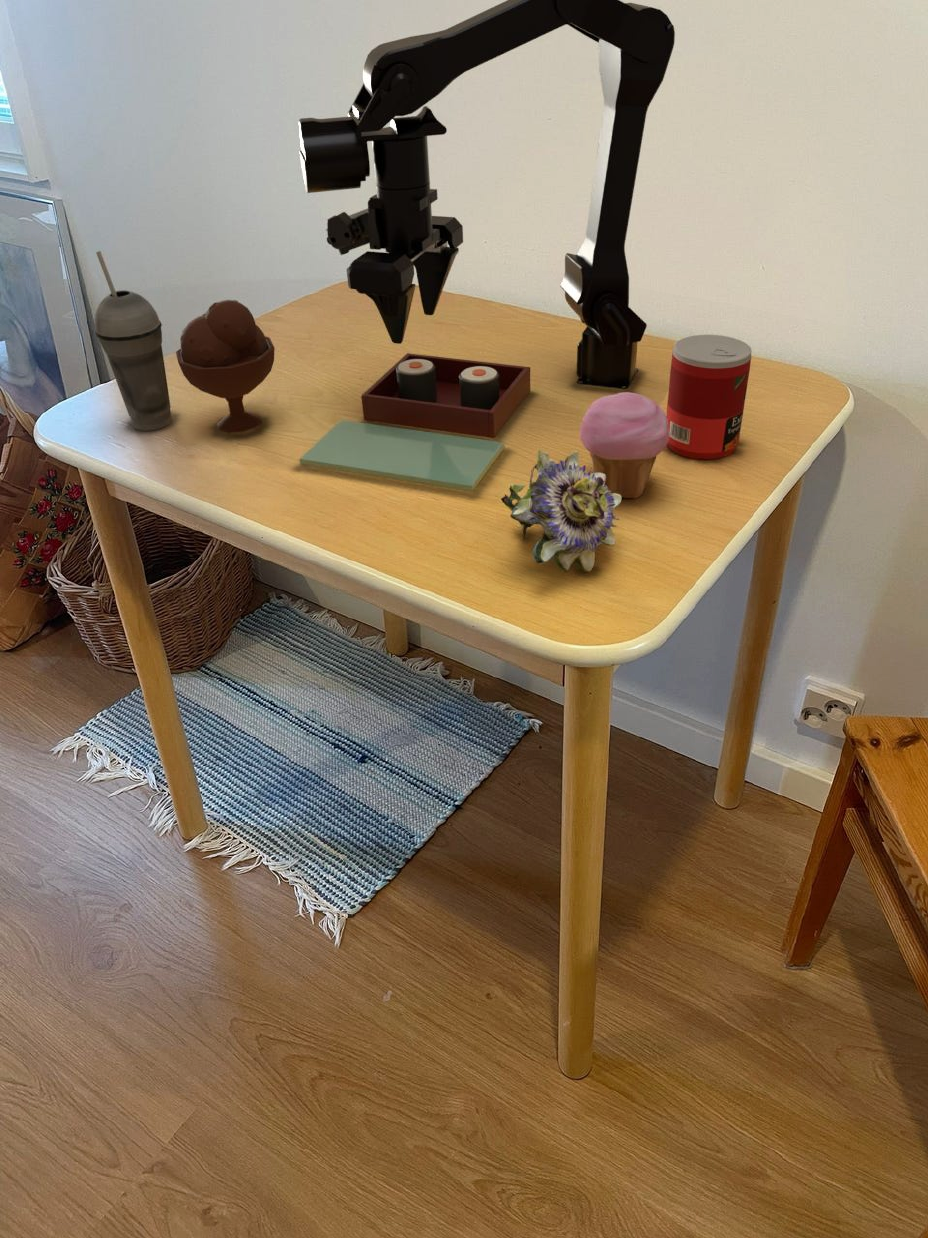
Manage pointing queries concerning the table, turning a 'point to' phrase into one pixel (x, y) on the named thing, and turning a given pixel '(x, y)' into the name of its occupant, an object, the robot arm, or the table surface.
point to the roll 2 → (479, 387)
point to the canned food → (707, 395)
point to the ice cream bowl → (226, 359)
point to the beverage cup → (134, 354)
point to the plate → (404, 454)
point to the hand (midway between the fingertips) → (413, 328)
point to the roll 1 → (417, 380)
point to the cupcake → (624, 440)
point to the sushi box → (447, 399)
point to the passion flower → (566, 511)
